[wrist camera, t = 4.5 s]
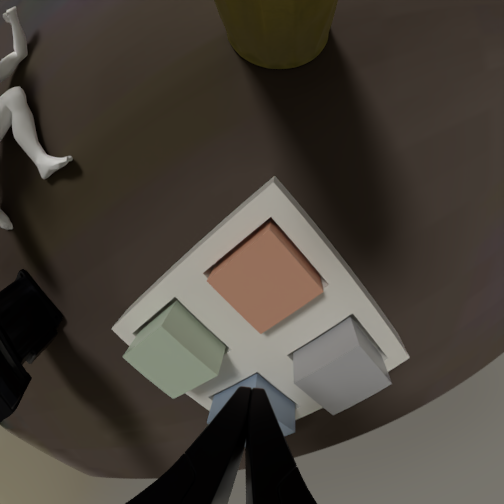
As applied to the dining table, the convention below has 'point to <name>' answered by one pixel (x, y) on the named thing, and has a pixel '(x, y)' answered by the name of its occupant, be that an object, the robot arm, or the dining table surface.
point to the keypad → (283, 333)
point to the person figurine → (21, 112)
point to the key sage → (176, 352)
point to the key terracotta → (266, 277)
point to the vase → (277, 29)
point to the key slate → (278, 401)
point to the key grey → (340, 368)
